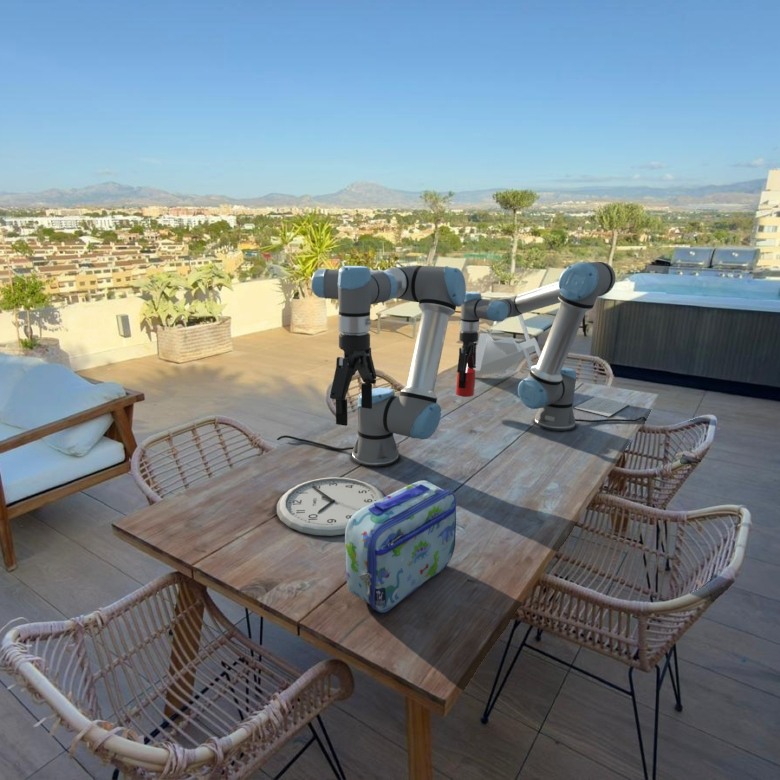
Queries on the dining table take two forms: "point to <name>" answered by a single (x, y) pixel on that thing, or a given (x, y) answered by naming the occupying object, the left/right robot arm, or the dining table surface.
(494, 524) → the dining table surface
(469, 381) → the red cylinder
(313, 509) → the wall clock
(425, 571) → the lunch box
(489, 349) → the white plastic object
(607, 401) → the invitation card
